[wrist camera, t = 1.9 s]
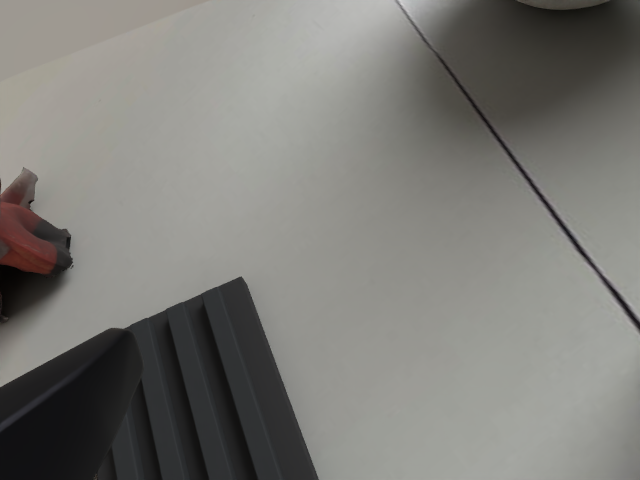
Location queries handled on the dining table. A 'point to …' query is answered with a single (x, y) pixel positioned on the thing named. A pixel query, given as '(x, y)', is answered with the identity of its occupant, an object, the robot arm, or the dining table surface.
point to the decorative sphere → (562, 3)
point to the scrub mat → (208, 399)
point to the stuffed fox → (29, 233)
